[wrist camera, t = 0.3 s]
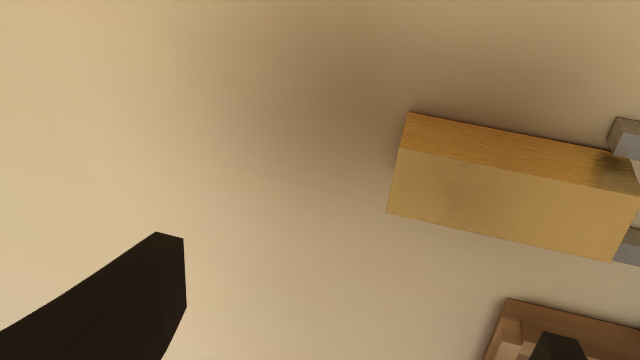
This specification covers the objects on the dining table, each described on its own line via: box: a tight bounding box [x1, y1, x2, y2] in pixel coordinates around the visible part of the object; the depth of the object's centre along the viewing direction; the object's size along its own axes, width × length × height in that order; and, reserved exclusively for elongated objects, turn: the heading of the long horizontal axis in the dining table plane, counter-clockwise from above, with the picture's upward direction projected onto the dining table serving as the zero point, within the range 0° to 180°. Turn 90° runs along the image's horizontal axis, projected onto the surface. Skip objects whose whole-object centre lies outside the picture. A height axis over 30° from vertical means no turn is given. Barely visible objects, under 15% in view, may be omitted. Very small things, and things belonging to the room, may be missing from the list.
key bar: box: [386, 112, 640, 263], centre depth 18 cm, size 2×7×2 cm, turn 85°
